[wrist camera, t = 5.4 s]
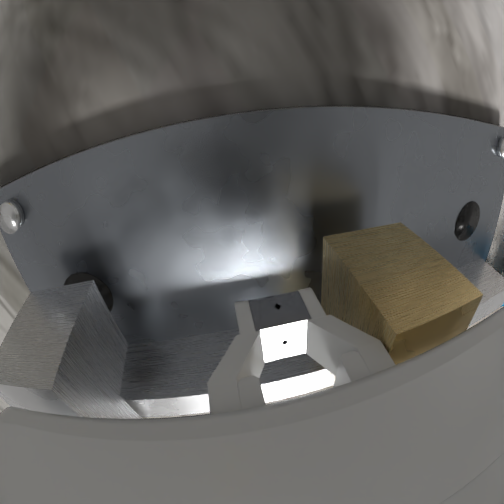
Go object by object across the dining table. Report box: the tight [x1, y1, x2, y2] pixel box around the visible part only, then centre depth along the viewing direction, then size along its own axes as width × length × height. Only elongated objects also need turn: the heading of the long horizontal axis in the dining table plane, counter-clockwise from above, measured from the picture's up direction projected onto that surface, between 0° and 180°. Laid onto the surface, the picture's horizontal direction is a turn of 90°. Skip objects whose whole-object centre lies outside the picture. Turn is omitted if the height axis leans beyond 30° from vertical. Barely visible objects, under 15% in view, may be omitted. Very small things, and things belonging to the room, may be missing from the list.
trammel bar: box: [0, 259, 504, 419], centre depth 12 cm, size 8×31×7 cm, turn 97°
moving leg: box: [321, 222, 483, 365], centre depth 11 cm, size 8×4×7 cm, turn 7°
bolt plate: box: [0, 106, 504, 345], centre depth 15 cm, size 18×33×2 cm, turn 97°
